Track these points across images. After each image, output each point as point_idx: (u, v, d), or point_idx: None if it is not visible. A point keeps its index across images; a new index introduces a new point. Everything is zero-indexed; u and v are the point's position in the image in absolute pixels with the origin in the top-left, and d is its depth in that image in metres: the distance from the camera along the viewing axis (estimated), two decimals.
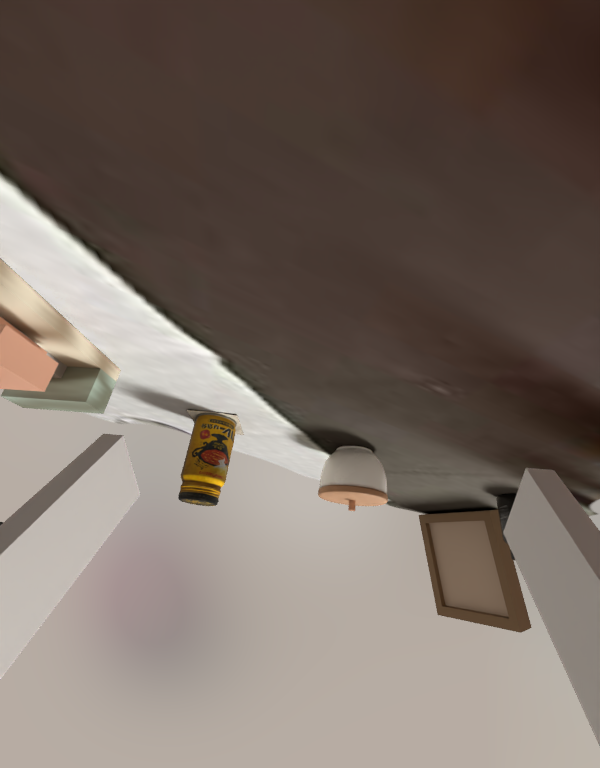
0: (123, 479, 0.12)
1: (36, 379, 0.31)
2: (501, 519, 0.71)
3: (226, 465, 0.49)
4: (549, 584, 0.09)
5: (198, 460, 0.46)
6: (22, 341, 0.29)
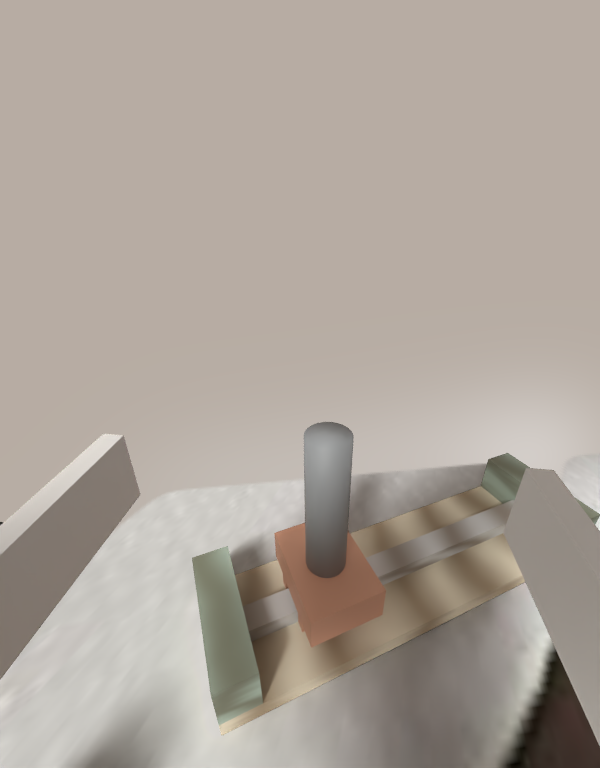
0: (123, 479, 0.12)
1: (328, 620, 0.24)
2: None
3: None
4: (549, 584, 0.09)
5: None
6: (361, 622, 0.26)
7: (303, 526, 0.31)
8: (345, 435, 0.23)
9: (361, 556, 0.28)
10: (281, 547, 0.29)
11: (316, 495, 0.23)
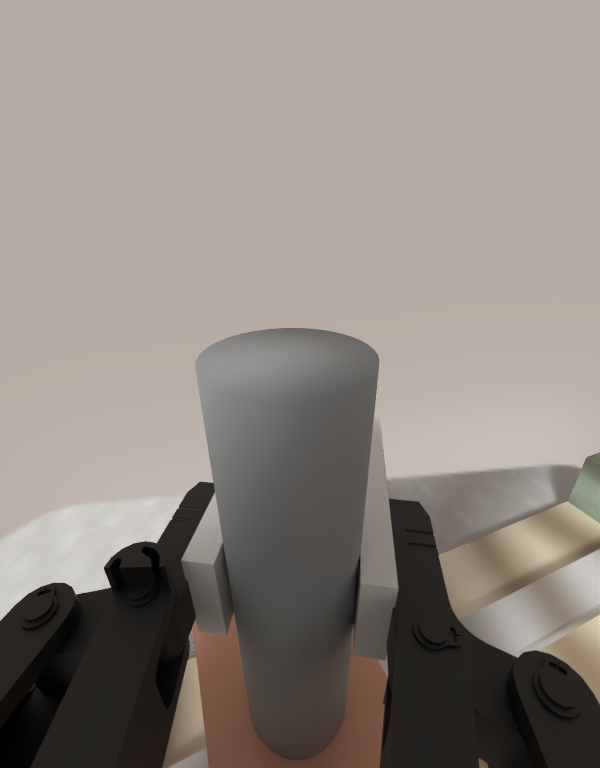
0: None
1: None
2: None
3: None
4: None
5: None
6: None
7: None
8: (347, 355, 0.06)
9: (383, 684, 0.12)
10: (198, 653, 0.13)
11: (248, 566, 0.07)
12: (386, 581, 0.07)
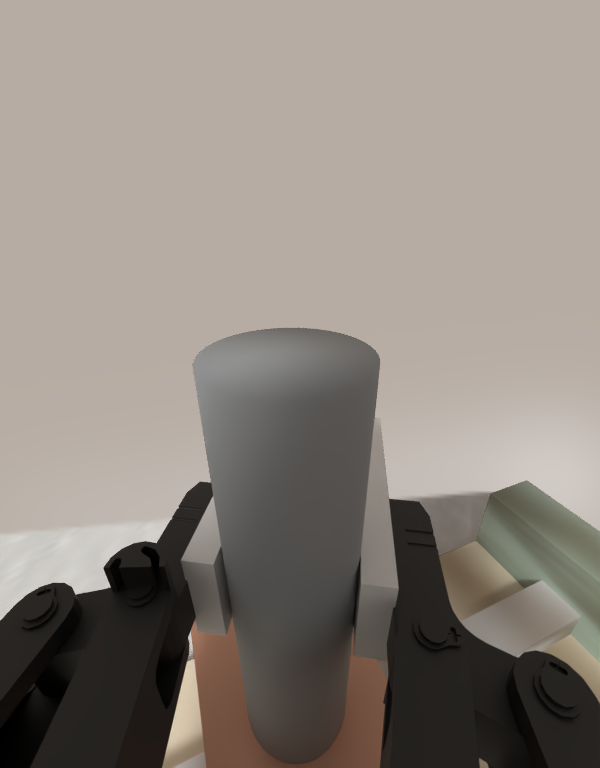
0: None
1: None
2: None
3: None
4: None
5: None
6: None
7: None
8: (348, 355, 0.06)
9: (383, 687, 0.12)
10: (196, 656, 0.13)
11: (246, 569, 0.07)
12: (386, 581, 0.07)
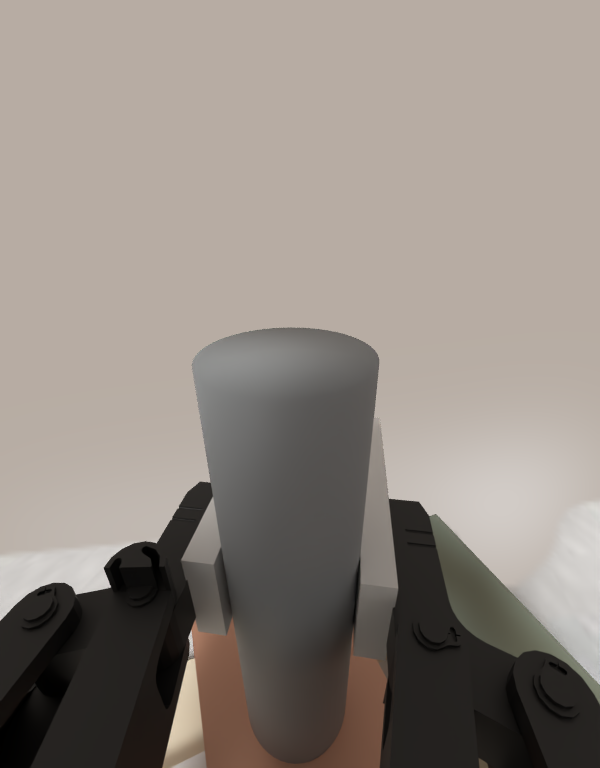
0: None
1: None
2: None
3: None
4: None
5: None
6: None
7: None
8: (347, 355, 0.06)
9: (383, 686, 0.12)
10: (197, 655, 0.13)
11: (245, 568, 0.07)
12: (386, 581, 0.07)
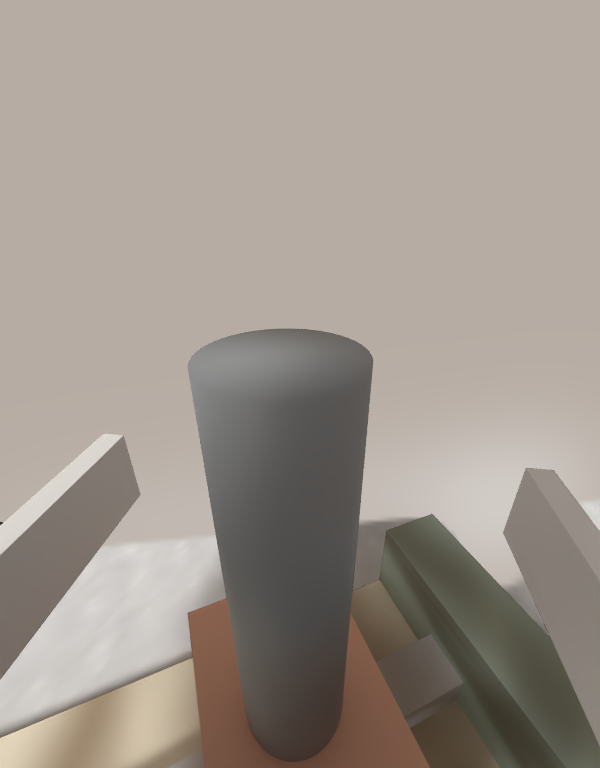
0: (123, 479, 0.12)
1: None
2: None
3: None
4: (549, 584, 0.09)
5: None
6: None
7: None
8: (341, 356, 0.06)
9: (380, 684, 0.12)
10: (194, 654, 0.13)
11: (241, 567, 0.07)
12: None
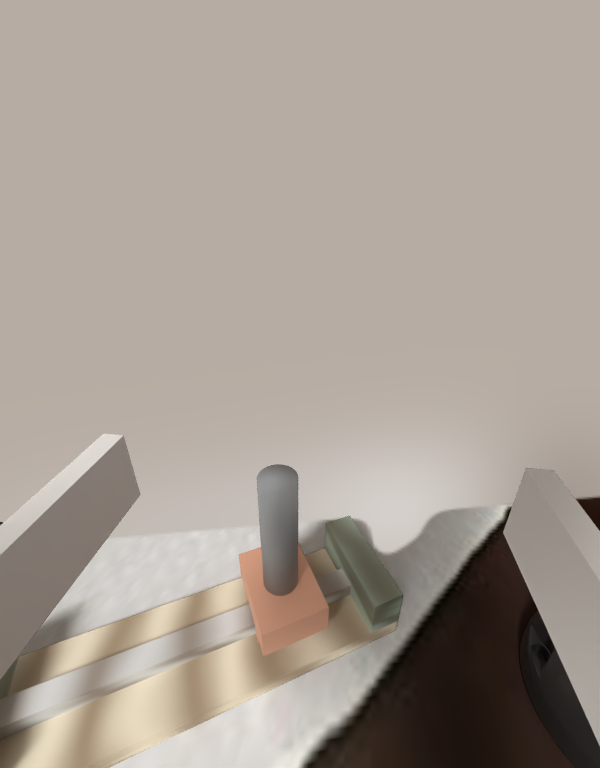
0: (123, 479, 0.12)
1: (277, 633, 0.29)
2: None
3: None
4: (549, 584, 0.09)
5: None
6: (308, 634, 0.31)
7: None
8: (291, 478, 0.27)
9: (311, 576, 0.33)
10: (243, 567, 0.33)
11: (267, 527, 0.28)
12: None
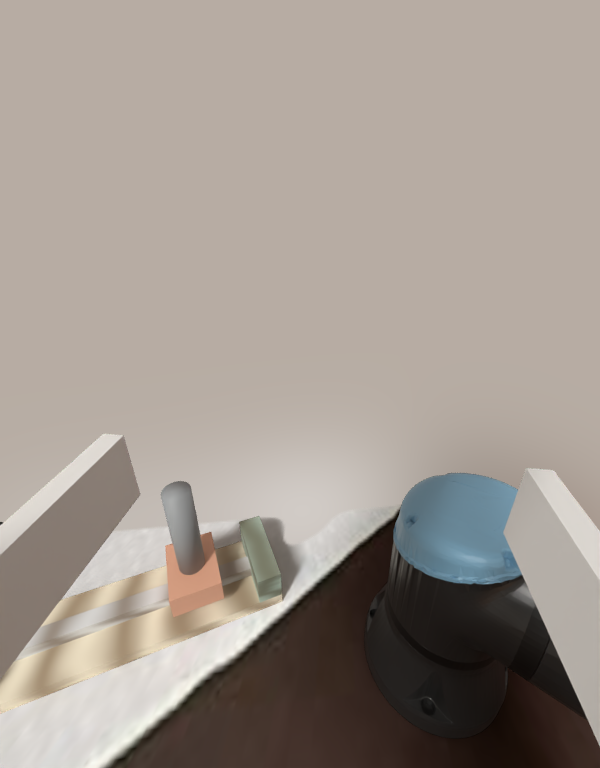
0: (123, 479, 0.12)
1: (181, 600, 0.41)
2: None
3: None
4: (549, 584, 0.09)
5: None
6: (208, 602, 0.42)
7: None
8: (185, 491, 0.39)
9: (215, 561, 0.44)
10: (166, 555, 0.45)
11: (170, 525, 0.39)
12: None
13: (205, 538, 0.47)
